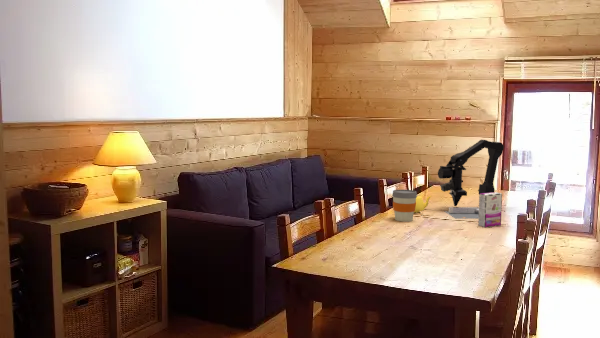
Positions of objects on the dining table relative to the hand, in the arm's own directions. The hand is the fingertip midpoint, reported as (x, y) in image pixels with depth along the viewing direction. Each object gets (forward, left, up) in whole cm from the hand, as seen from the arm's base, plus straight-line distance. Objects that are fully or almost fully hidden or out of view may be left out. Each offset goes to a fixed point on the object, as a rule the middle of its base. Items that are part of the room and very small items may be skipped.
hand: (455, 206), depth 320 cm
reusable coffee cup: (+33, +18, -4) cm, 38 cm away
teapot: (+21, -5, -4) cm, 22 cm away
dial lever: (-3, +8, -2) cm, 9 cm away
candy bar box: (-7, +32, -4) cm, 33 cm away
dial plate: (-3, +12, -4) cm, 13 cm away
